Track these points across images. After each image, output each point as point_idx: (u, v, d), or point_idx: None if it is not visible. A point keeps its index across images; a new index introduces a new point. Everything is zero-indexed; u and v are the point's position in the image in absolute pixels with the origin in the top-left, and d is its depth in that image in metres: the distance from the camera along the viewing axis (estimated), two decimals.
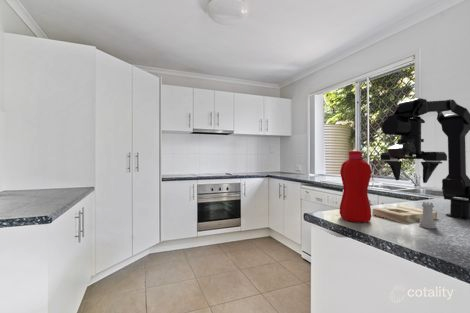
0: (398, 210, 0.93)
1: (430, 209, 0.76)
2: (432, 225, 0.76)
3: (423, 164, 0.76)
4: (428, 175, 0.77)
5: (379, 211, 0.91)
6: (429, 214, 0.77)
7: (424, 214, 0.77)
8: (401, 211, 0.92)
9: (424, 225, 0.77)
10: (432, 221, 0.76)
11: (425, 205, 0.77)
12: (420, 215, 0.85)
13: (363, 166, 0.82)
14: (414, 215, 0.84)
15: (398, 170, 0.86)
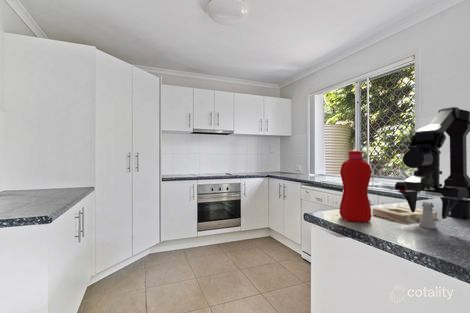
0: (398, 210, 0.93)
1: (430, 209, 0.76)
2: (432, 225, 0.76)
3: (443, 200, 0.72)
4: (448, 211, 0.73)
5: (379, 211, 0.91)
6: (429, 214, 0.77)
7: (424, 214, 0.77)
8: (401, 211, 0.92)
9: (424, 225, 0.77)
10: (432, 221, 0.76)
11: (425, 205, 0.77)
12: (420, 215, 0.85)
13: (363, 166, 0.82)
14: (414, 215, 0.84)
15: (414, 201, 0.82)
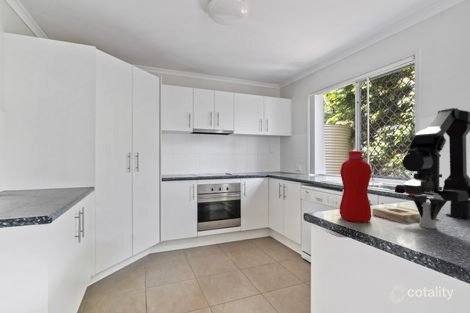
0: (398, 210, 0.93)
1: (430, 209, 0.76)
2: (432, 225, 0.76)
3: (431, 202, 0.75)
4: (436, 212, 0.75)
5: (379, 211, 0.91)
6: (429, 214, 0.77)
7: (424, 214, 0.77)
8: (401, 211, 0.92)
9: (424, 225, 0.77)
10: (432, 221, 0.76)
11: (425, 205, 0.77)
12: None
13: (363, 166, 0.82)
14: (414, 215, 0.84)
15: None
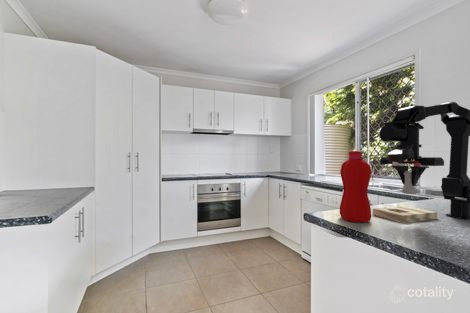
0: (398, 210, 0.93)
1: (411, 176, 0.84)
2: (413, 191, 0.83)
3: (412, 169, 0.82)
4: (416, 178, 0.83)
5: (379, 211, 0.91)
6: (410, 181, 0.84)
7: (406, 181, 0.85)
8: (401, 211, 0.92)
9: (406, 191, 0.84)
10: (413, 187, 0.84)
11: (406, 173, 0.84)
12: (420, 215, 0.85)
13: (363, 166, 0.82)
14: (414, 215, 0.84)
15: None
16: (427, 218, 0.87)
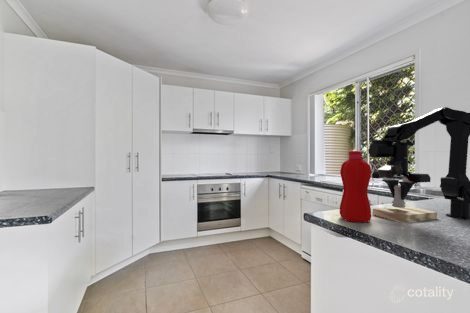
0: (398, 210, 0.93)
1: (400, 191, 0.89)
2: (402, 204, 0.88)
3: (401, 184, 0.87)
4: (405, 193, 0.88)
5: (379, 211, 0.91)
6: (399, 195, 0.89)
7: (395, 195, 0.90)
8: (401, 211, 0.92)
9: (395, 205, 0.89)
10: (402, 201, 0.88)
11: (396, 187, 0.89)
12: (420, 215, 0.85)
13: (363, 166, 0.82)
14: (414, 215, 0.84)
15: None
16: (427, 218, 0.87)
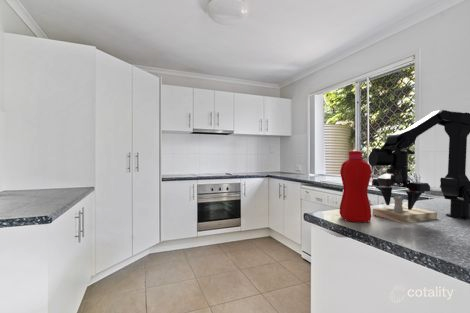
0: None
1: (400, 202, 0.89)
2: None
3: (408, 194, 0.84)
4: (412, 203, 0.85)
5: (379, 211, 0.91)
6: (399, 206, 0.89)
7: (395, 206, 0.90)
8: None
9: None
10: (401, 212, 0.88)
11: (396, 198, 0.89)
12: (420, 215, 0.85)
13: (363, 166, 0.82)
14: (414, 215, 0.84)
15: (388, 196, 0.94)
16: (427, 218, 0.87)
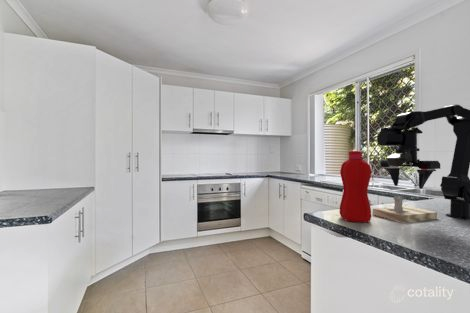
0: None
1: (400, 202, 0.89)
2: None
3: (419, 172, 0.84)
4: (424, 181, 0.85)
5: (379, 211, 0.91)
6: (399, 206, 0.89)
7: (395, 206, 0.90)
8: None
9: None
10: (401, 212, 0.88)
11: (396, 198, 0.89)
12: (420, 215, 0.85)
13: (363, 166, 0.82)
14: (414, 215, 0.84)
15: (397, 176, 0.94)
16: (427, 218, 0.87)
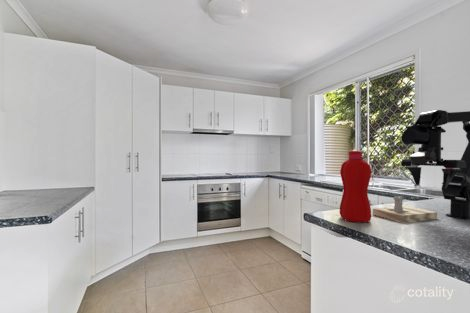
0: None
1: (400, 202, 0.89)
2: None
3: (444, 171, 0.83)
4: (448, 181, 0.83)
5: (379, 211, 0.91)
6: (399, 206, 0.89)
7: (395, 206, 0.90)
8: None
9: None
10: (401, 212, 0.88)
11: (396, 198, 0.89)
12: (420, 215, 0.85)
13: (363, 166, 0.82)
14: (414, 215, 0.84)
15: (418, 176, 0.93)
16: (427, 218, 0.87)
